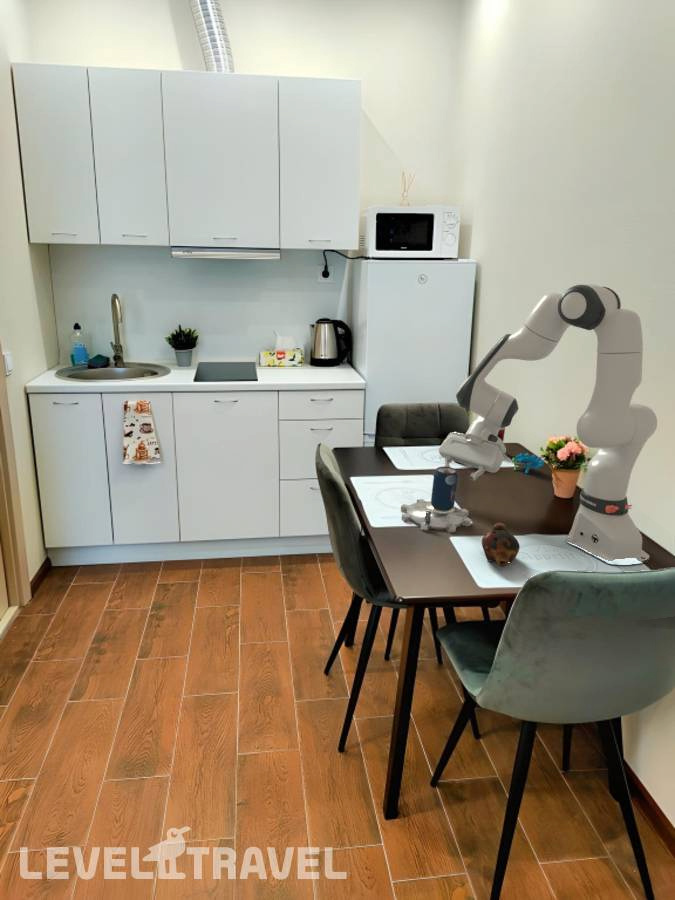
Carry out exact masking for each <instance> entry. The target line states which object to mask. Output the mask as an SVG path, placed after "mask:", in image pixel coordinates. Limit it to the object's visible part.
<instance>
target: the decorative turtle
mask: <svg viewBox="0 0 675 900" xmlns="http://www.w3.org/2000/svg"><path fill="white" fill-rule="evenodd" d="M481 545H482V549H483V552H484V555H485V558H486V560H487V561H488V560H491V562H493V561H495V562H496V564H497V565H498V566H500V567H506V566H507V565H508V564H509V563H508V562H511V563H513V562H512V561H514V560H515V559H516V557H518V556H517V555H518V554H519V552H520V549H521V547H520V543H519V541H518V538H516V537H515V536H514V535H513V533H511V532H509V531H508V527H507V525H505V524H504V523H503V522H497V523H495V524H494V525H493V526H492V529H491V530H490V531H489V532H488V531H487V533H485V534H484V535H483V537H482V539H481Z"/></svg>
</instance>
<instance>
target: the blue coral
mask: <svg viewBox="0 0 675 900" xmlns="http://www.w3.org/2000/svg"><path fill="white" fill-rule="evenodd" d="M511 462H512V463H513V466H514V467H513V471H514V470H515V471H516V469H517V467H522V468H525V472H524V474H526V475H528V474H529V471H530V470H534V468H535V470H539V469H540V468H543V466H544V463H545V462H544V460H542V458H541V457H539V456H538V457H537V458H536V455H535V454H532V455H531V456H530V454H529V453H528V452H526V453H519V455H518V454H517V455H516V456H515V457H512V460H511Z"/></svg>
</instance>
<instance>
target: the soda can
mask: <svg viewBox="0 0 675 900" xmlns="http://www.w3.org/2000/svg"><path fill="white" fill-rule="evenodd" d="M457 484H458V474H457V470H456V469H455V468H453V467H451V466H450V467H444V466H438V467H436V470H435V471H434V473H433V479H432V487H431V488H432V489H431V499H430V502H431V504H432V506H433V508H434V509H436V510H439V511H450V510H451V509H452V508H453V507H455V502H456V501H455V500H456V494H457V486H458V485H457Z"/></svg>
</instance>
